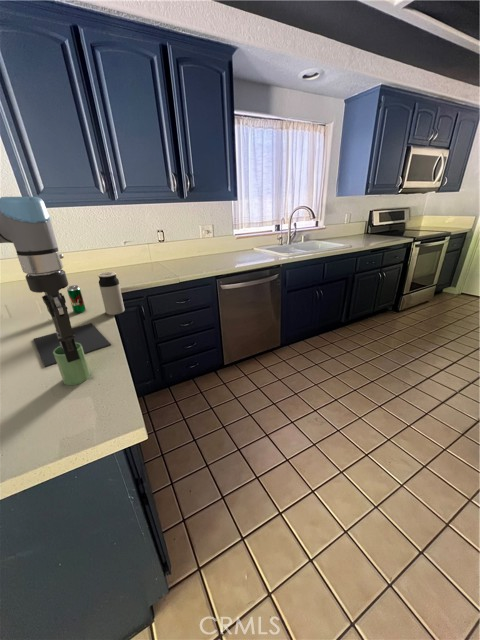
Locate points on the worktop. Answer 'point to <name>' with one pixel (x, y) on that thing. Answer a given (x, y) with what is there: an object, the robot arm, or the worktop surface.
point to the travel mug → (111, 293)
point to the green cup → (72, 366)
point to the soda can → (76, 299)
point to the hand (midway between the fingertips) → (73, 359)
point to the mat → (82, 335)
